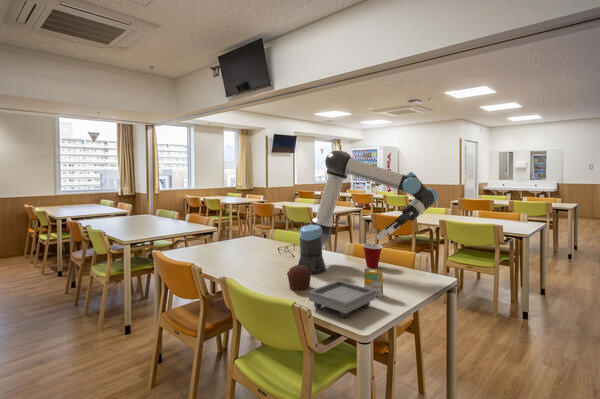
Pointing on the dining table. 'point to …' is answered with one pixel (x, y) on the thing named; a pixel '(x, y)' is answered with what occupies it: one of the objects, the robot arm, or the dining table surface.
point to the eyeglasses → (287, 248)
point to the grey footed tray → (342, 297)
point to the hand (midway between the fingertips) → (382, 235)
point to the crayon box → (374, 281)
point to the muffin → (299, 278)
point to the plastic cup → (372, 254)
